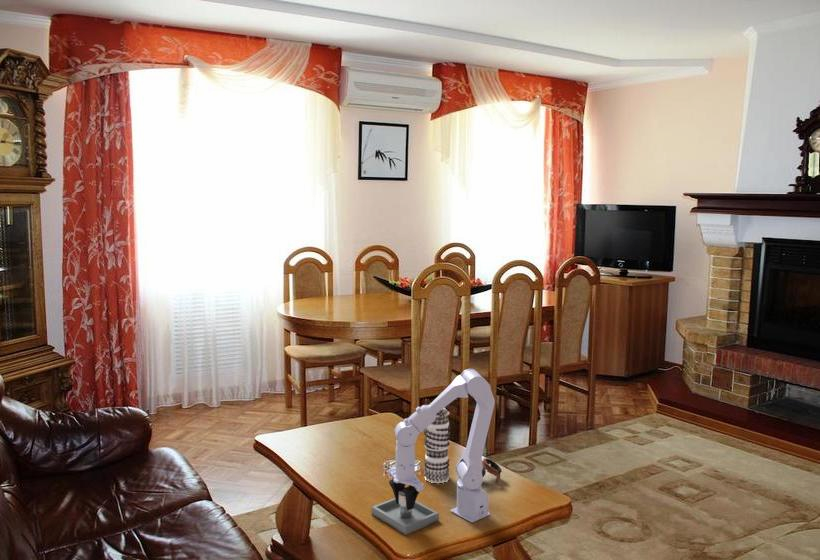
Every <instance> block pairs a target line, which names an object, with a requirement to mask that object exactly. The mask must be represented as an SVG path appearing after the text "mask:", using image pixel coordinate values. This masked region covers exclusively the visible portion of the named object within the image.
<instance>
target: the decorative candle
mask: <svg viewBox="0 0 820 560" xmlns="http://www.w3.org/2000/svg"><path fill="white" fill-rule="evenodd" d="M449 415H450V411H448V409H446V407H444V408H443V409H442V410H440V411H439V412H438V413H437V414H436V419H435V421H434V422H432V423H431V424H430V425H429V426H428V427H427V428H426V429H425V430H423V435H424V438H423V439H424V443H423V445H424V447H425V456H424V457H425V458H423V459H424V464H423V465H424V469H423V471H424V473H423V476H424V478H425V480H427V481H429V482H431V483H443V484H445V483H444V482H446V483H448V482H449V481H448V480H450V478H449V476H450V468H449V467H450V459H449V448H450V445H451V444H450V441H449V440H451V437H450V436H451V432H450V431H451V429H452V427H451V425H450V424H451V423H450V421H449ZM425 480H424V481H425ZM431 483H430V484H431Z"/></svg>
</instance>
